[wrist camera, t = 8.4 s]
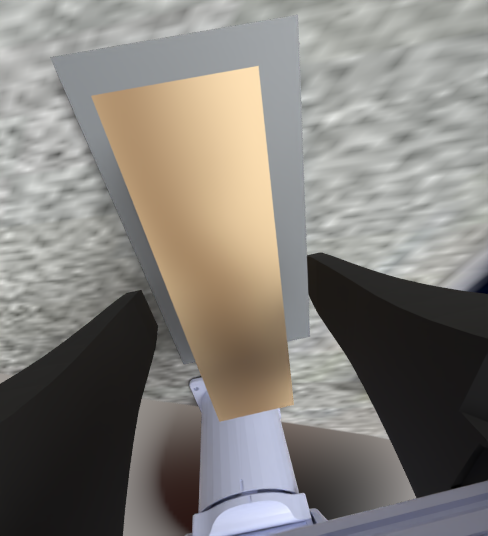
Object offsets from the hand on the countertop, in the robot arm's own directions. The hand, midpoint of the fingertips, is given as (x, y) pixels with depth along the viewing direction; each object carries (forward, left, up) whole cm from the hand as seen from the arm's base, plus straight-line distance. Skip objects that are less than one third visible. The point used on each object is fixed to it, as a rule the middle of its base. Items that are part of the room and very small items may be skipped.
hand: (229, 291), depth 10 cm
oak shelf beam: (0, 0, -4) cm, 4 cm away
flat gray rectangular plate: (0, 0, -7) cm, 7 cm away
